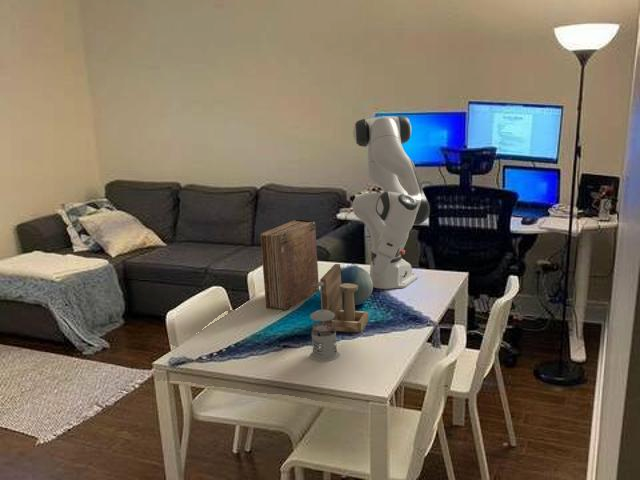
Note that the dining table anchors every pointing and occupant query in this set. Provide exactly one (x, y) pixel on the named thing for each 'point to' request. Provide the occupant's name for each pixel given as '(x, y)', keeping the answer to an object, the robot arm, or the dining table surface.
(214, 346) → the dining table surface
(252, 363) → the dining table surface
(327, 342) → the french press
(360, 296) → the decorative ball
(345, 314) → the handle
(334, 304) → the cleat board
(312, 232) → the book
